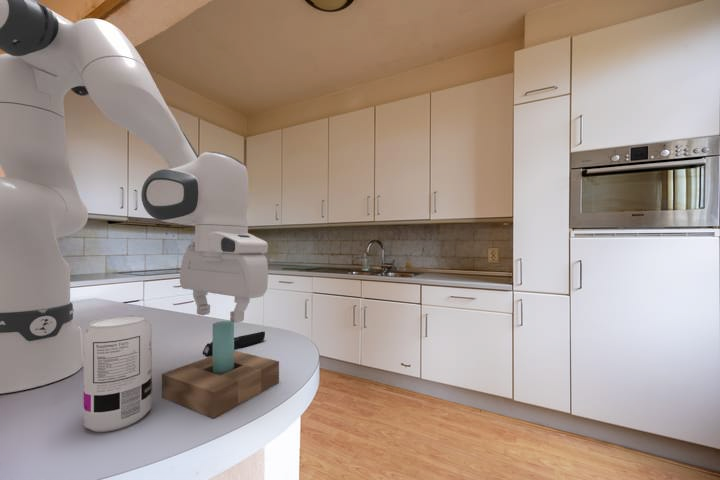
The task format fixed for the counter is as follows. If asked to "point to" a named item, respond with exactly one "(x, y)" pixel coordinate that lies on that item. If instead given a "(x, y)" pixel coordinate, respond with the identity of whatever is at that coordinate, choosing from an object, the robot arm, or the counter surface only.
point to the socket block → (219, 383)
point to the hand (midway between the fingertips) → (219, 317)
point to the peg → (223, 347)
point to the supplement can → (117, 372)
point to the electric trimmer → (238, 342)
